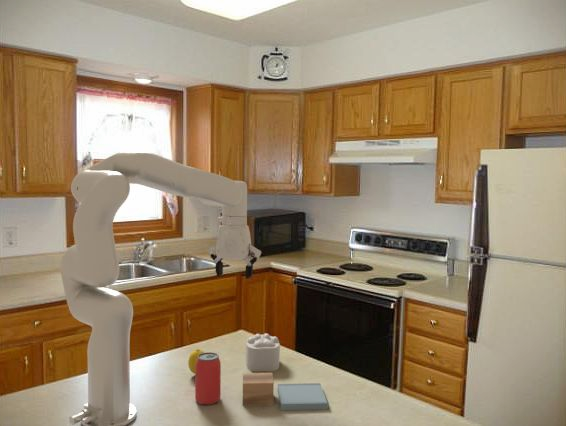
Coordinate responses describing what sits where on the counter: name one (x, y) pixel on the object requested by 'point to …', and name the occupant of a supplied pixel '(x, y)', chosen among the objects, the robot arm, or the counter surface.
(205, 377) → the beer can
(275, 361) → the lumpy-topped squat cylinder
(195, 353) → the lemon
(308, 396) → the plate
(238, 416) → the counter surface
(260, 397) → the wooden block
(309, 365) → the counter surface
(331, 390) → the counter surface
